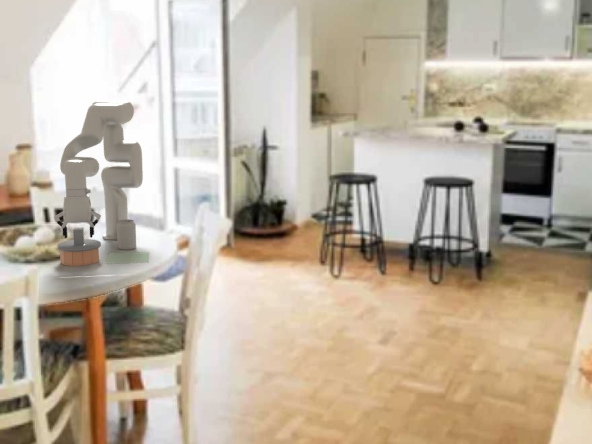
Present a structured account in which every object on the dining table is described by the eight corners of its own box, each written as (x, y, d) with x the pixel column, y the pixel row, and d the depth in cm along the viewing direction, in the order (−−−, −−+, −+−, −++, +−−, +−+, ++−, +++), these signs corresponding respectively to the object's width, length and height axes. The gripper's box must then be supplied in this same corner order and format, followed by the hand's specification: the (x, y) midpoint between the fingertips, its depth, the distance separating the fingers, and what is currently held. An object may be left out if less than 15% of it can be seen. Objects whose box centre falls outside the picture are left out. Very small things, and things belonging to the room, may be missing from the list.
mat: (108, 254, 292) (108, 253, 292) (149, 252, 295) (149, 251, 295) (105, 264, 277) (105, 263, 277) (148, 263, 280) (148, 262, 280)
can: (131, 251, 297) (130, 222, 294) (114, 250, 298) (113, 221, 296) (139, 247, 304) (138, 219, 302) (122, 246, 306) (121, 218, 303)
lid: (60, 242, 286) (59, 224, 284) (102, 241, 289) (101, 223, 287) (54, 252, 270) (53, 234, 269) (99, 250, 273) (98, 232, 272)
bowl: (63, 257, 286) (62, 242, 285) (100, 256, 289) (99, 241, 288) (58, 267, 273) (57, 251, 272) (97, 265, 275) (96, 250, 274)
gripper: (100, 190, 280) (102, 234, 284) (53, 191, 277) (56, 235, 281) (99, 193, 273) (101, 238, 277) (50, 194, 270) (53, 240, 274)
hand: (78, 237), depth 279 cm, fingers open, 9 cm apart
